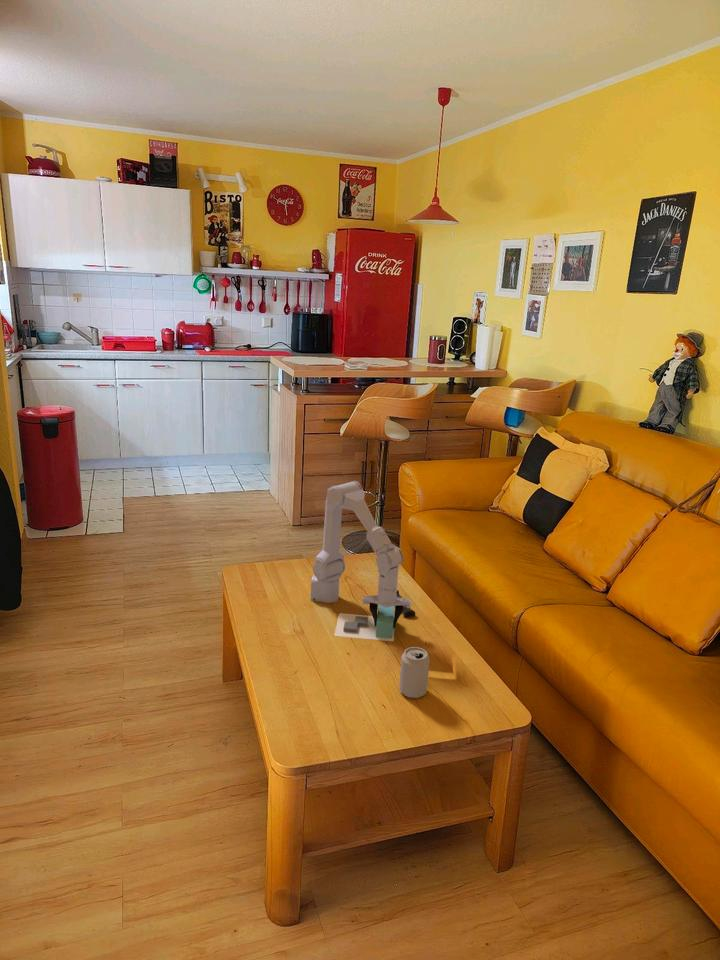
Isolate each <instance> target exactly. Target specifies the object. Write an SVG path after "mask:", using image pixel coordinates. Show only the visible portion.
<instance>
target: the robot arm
mask: <svg viewBox="0 0 720 960" xmlns="http://www.w3.org/2000/svg"><path fill="white" fill-rule="evenodd" d="M326 492H327V493H326V499H325V507H324V523H323V535H322V536H323V540H322V550H321V551H320V552H319V553H318V554H317V555H316V556H315V561H314V564H313V566H312V571H313V575H312V577H311V582H310V593H309V595H310V601H312V602H313V601H314V602H321V603H327V604H330V603H335V602H337V601H338V600H339V598H340V597H339V596H340V577H342V574H343V573H344V572H345V569H346V563H345V554H344V553H343V552H341V551H340V546H341V545H340V543H341V530H342V519H343V517H342V516H343V515H342V514H343V509H344V510H347V511H353V512H354V514H355V515H356V517H357V518H358V520H359V521H360V522H361V524H362V526H363V527H364V529H365V530H366V539H367V541H368V543H369V544H370V546H371V548H372V549H373V552H374V553H375V555H376V557H375V563H376V566H377V571H378V572H377V573H378V587H377V588H378V589H377V595H375V594H374V595H364V596H363V597H362V605H367V604H368V605H369V611H370V614H371V616H373V619H374V624H375V627H376V624H377V615H378V607H379V605H382V606H383V607H390V606H394V620H393V628H394V629H395V628H396V626H397V624H398V620H399V618H400V617H401V615H403V614H402V612H403V607H406V608H411V599H407V598H403V597H402V598H399V597H396V595H397V590H398V582H399V581H398V579H399V569H400V567H399V566H401V565H402V564H403V562H404V554H403V552H402V549H401V548H399V547H398V546H397V545H396V544H394V543H392V542H391V540H390V538H389V536H388V534H387V533H386V531H385V529H384V528H383V527H382V526H378V525H377V523H376V521H375V519H374V517H373V515H372V513H371V511H370V508H369V506H368V504H367V502H366V501H365V495H366V493H365V491H364V490H363V486H362V485H361V484H360V482H358V481H357V480H352V481H350V482H346V483H342V484H338V485H332V486H331V487H329V488H327V491H326Z"/></svg>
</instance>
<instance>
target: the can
mask: <svg viewBox="0 0 720 960" xmlns="http://www.w3.org/2000/svg"><path fill="white" fill-rule="evenodd" d="M430 659H431V658H430V656H429V653H428V651H426V650H425V649H424V648H422V647H418V646H411V647H408V648H405V650H404V651H403V653H402V655H401V661H400V672H399V673H400V675H399V684H398V688H399V691H400V693H401V694H402V695H404V696H405V697H406V696H407V698H409V699H419V698H421V697H423V696H425V695H426V693H427V692H428V682H429V675H430V674H429V671H430V664H431V663H430V662H431V660H430Z"/></svg>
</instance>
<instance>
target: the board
mask: <svg viewBox="0 0 720 960" xmlns="http://www.w3.org/2000/svg"><path fill="white" fill-rule="evenodd" d="M356 616H361V617H368V624H367V627H363V626H357V632H356V633H354V632H343V629H344V624H345V622H355V617H356ZM336 622H337V623H336V626H335V629H334V630H335V631H334V637H340V638H343V637H344V638H349V639H350V638H353V639H362V640H376V641H385V642H394V641H395V640H394V639H395V628H393V634H392V638H381V637H376V627H375V624H374V619H373V616H372V615H362V614H352V613H342V612H341V613H338V618H337V621H336Z"/></svg>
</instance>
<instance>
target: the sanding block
mask: <svg viewBox="0 0 720 960" xmlns="http://www.w3.org/2000/svg"><path fill="white" fill-rule="evenodd" d="M394 614H395V606H390V607H383V606H382V605H378V610H377V624H376V637H381V638H392V634H393V620H394Z"/></svg>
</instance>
